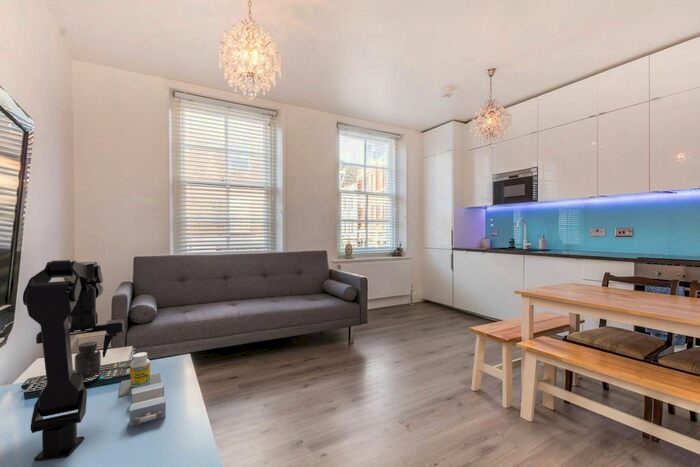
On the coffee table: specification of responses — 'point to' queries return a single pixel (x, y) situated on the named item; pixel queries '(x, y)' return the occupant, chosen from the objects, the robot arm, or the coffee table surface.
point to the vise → (147, 403)
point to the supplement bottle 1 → (88, 360)
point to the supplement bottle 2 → (140, 370)
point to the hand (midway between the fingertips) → (83, 360)
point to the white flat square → (127, 388)
